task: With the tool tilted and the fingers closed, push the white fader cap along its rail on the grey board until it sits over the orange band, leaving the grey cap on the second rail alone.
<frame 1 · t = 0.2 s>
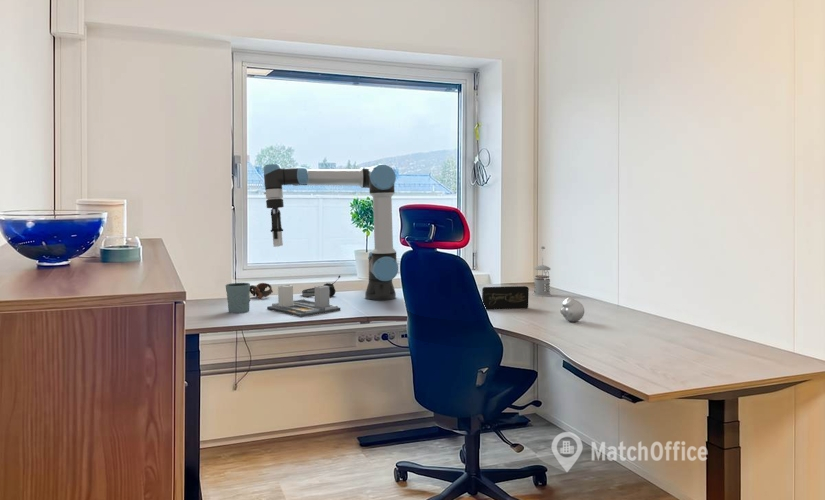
hand: (278, 246, 269), 27 cm above the table, tool pointing down, fingers open, 13 cm apart
headset: (321, 296, 303), on the table
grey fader: (322, 296, 262), point 6 cm above the table, slide at 13.0 cm
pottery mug: (260, 298, 295), on the table
grey board: (295, 311, 259), on the table
white fader: (285, 295, 263), point 6 cm above the table, slide at 0.0 cm
french press: (542, 295, 306), on the table
nameplate: (505, 309, 267), on the table
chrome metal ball: (571, 322, 239), on the table
green tapered cup: (238, 312, 258), on the table
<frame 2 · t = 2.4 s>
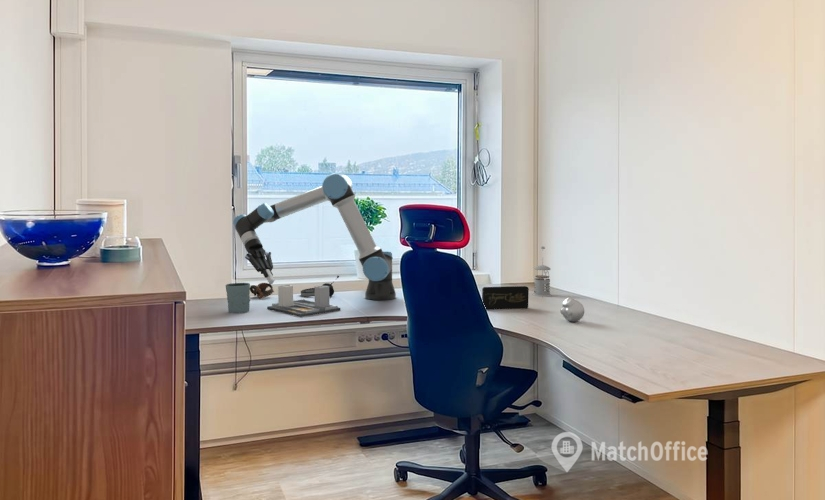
hand: (272, 282, 269), 11 cm above the table, tool tilted 45°, fingers closed
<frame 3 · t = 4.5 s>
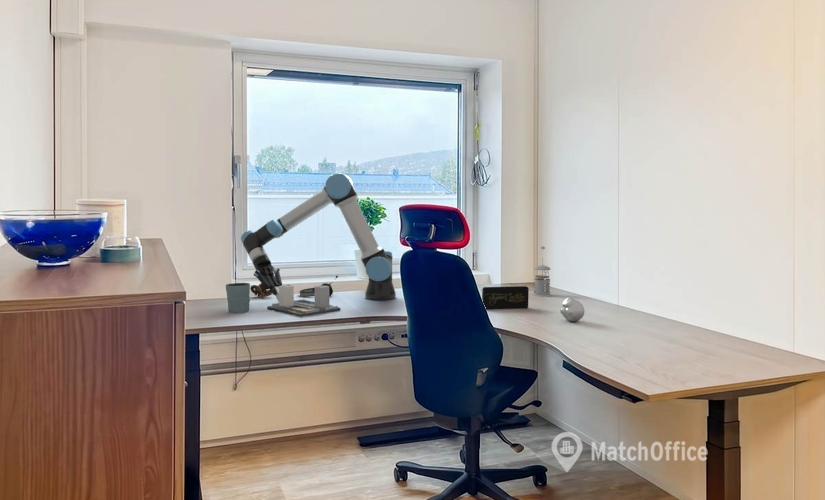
hand: (281, 299, 265), 4 cm above the table, tool tilted 45°, fingers closed
white fader: (286, 295, 263), point 6 cm above the table, slide at 0.5 cm, touching gripper
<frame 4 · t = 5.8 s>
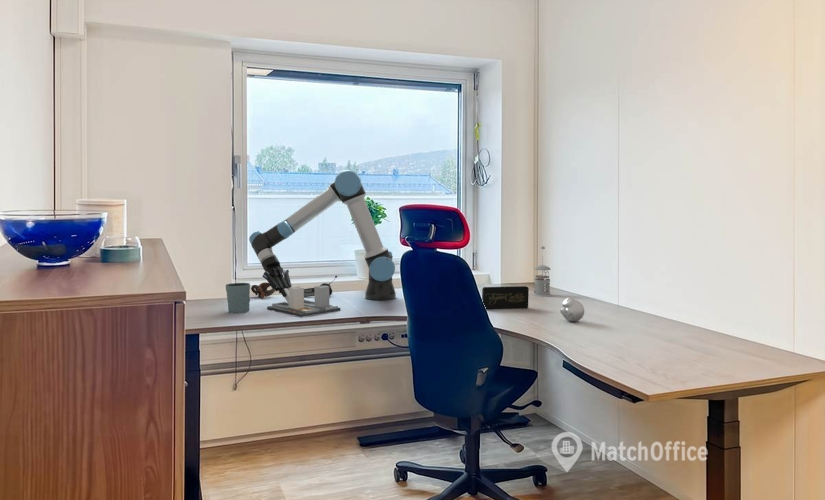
hand: (290, 301, 260), 4 cm above the table, tool tilted 45°, fingers closed
white fader: (296, 297, 258), point 6 cm above the table, slide at 8.0 cm, touching gripper
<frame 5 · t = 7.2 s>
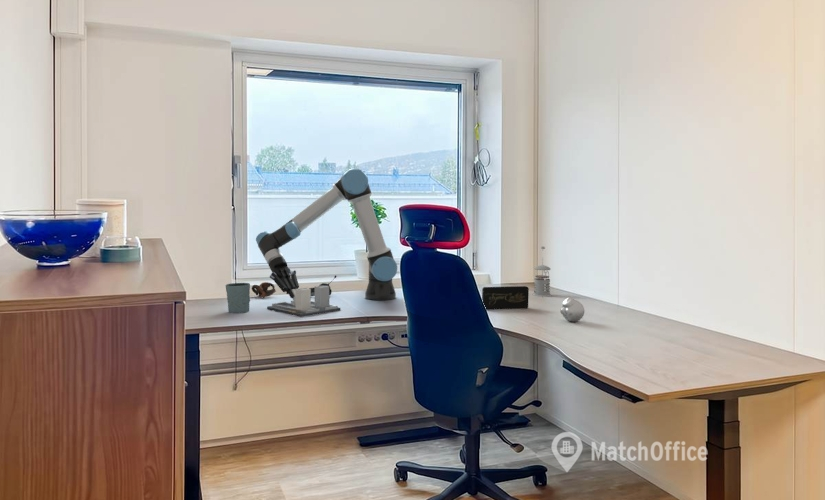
hand: (298, 302, 257), 4 cm above the table, tool tilted 45°, fingers closed
white fader: (303, 299, 254), point 6 cm above the table, slide at 12.9 cm, touching gripper
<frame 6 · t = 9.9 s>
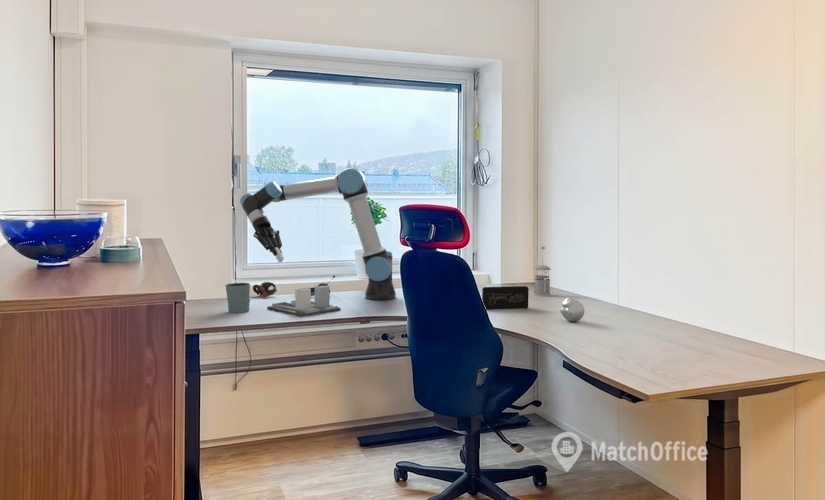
hand: (281, 260, 264), 22 cm above the table, tool tilted 45°, fingers closed
white fader: (303, 299, 254), point 6 cm above the table, slide at 12.9 cm
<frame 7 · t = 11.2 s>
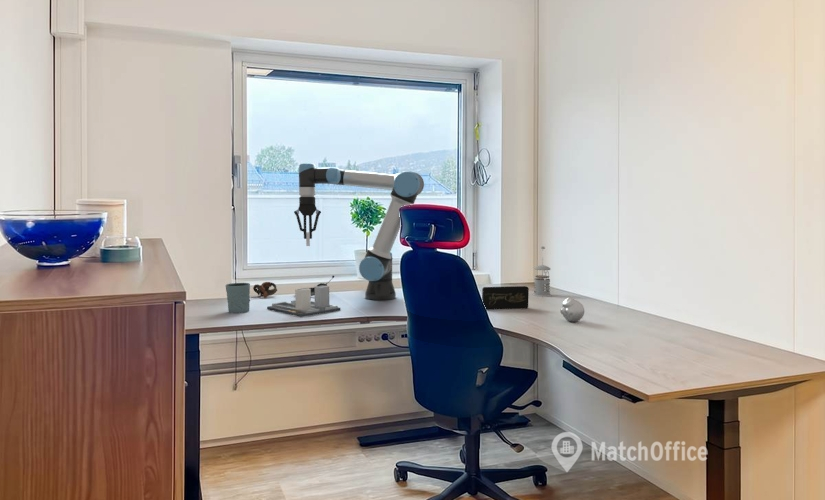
hand: (308, 245, 285), 26 cm above the table, tool pointing down, fingers closed
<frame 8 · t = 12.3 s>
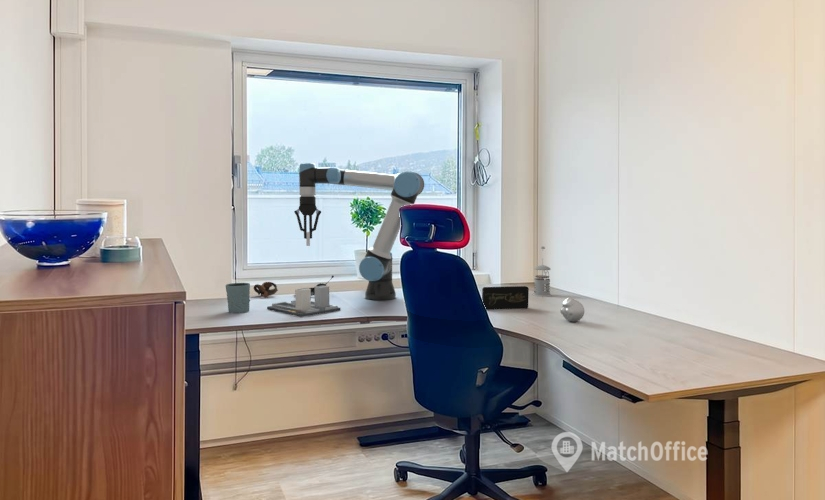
hand: (308, 245, 285), 26 cm above the table, tool pointing down, fingers closed
at the end: white fader slide at 12.9 cm; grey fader slide at 13.0 cm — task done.
